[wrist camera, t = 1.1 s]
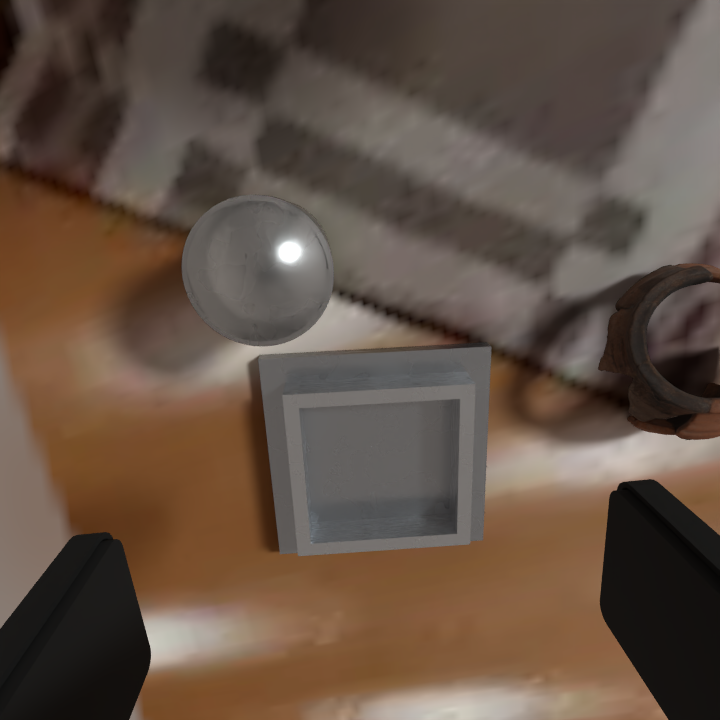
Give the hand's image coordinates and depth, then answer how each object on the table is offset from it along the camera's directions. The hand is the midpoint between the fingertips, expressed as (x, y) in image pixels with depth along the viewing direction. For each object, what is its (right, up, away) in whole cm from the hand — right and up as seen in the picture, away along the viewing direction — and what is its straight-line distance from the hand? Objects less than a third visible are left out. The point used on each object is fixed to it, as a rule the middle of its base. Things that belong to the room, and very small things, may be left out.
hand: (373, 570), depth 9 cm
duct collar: (+1, -2, +21) cm, 21 cm away
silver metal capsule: (-5, +10, +17) cm, 20 cm away
